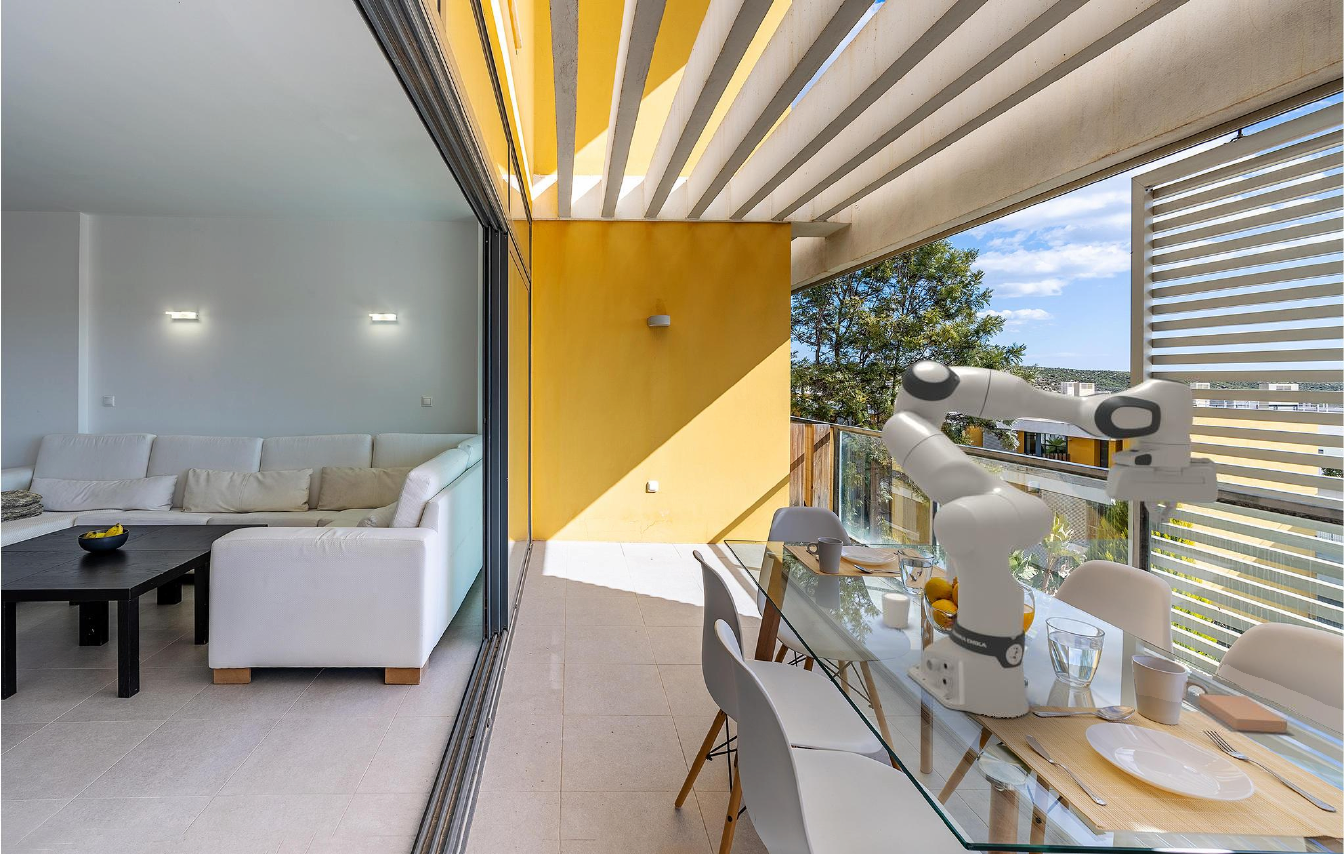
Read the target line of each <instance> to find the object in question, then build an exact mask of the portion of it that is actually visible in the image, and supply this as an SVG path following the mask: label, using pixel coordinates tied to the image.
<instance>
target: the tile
mask: <svg viewBox="0 0 1344 854" xmlns="http://www.w3.org/2000/svg"><path fill="white" fill-rule="evenodd" d="M1206 694H1207V693H1202V694H1199V701H1198V705H1200V706H1201V707H1202V708H1204V709H1205V710H1207V711H1208V712H1210V713H1211V714H1213V715H1214V716H1216V717H1217V718H1219V719H1220V720H1222V721H1223V722H1225V723H1226V724H1228V725H1229V726H1231V727H1232V728H1234V729H1235V730H1242V731H1260V732H1277V733H1287V731H1288V730H1287V729H1288V721H1287V720H1285V719H1284V718H1282V717H1280V716H1279V715H1277V714H1275V713H1274V712H1272V711H1270V709H1268V708H1265V707H1264V706H1262V705H1261V704H1258V703H1257V702H1256V701H1253V699H1251V698H1249V697H1247V696H1241V695H1230V696H1226V695H1227V694H1222V695H1206Z"/></svg>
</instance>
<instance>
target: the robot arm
mask: <svg viewBox="0 0 1344 854" xmlns="http://www.w3.org/2000/svg"><path fill="white" fill-rule="evenodd" d="M892 412H893V413H892V416H891V417H890V418H889V419H887V420H886V422H885V424H883V426H882V431H881V440H882V443H883V444H884V446H885V447H886V450H887V451H888V452H889V454H890V456H891V457H892V459H893V460H894V461H895V462H896V464H897V466H899V467H900V469H901V470H902V471H903V472H904V473H905V475H907V476H908V478H909V479H910V480H911V481H912V482H913V483H914V484H915V485H916V486H917V487H918V488H919V489H920V491H922V493H924V495H925V496H926V497H927V498H928V499H929V500H931V501H933V502H935V503H936V504H940V505H941V506H940V508H939V509H938V510H937V511H936V512H935V515H934V518H933V527H932V528H933V532H934V536H935V538H936V541H937V543H938V544H939V546H940V547H941V548H942V549H943V550H944V551H945V552H946V554H947V553H948V554H949V555H950V557H951V559H952V561H953V564H954V567H955V571H956V575H957V582H958V611H957V614H956V618H955V619H949V620H945V622H946V623H947V624H945V627H950V626H951V628H950V630H949V633H948V635H946V636H944V637H942V638H940V639H938V640H936V641H934V642H932V643H930V644H928V645H926V647H925V648H923V652H922V655H921V661H920V663H918V664H915V665H912V666H911V667H909V668H908V670H907V675H908V676H909V677H910V678H912V679H913V680H914V682H916V683H917V684H919V686H921V687H922V689H924V690H926V691H927V692H928V693H929V694H930V695H931V696H932V697H933V698H935V699H936V700H937V701H938V702H939V703H941V704H942V705H943V706H944V707H945V708H947V709H951V710H956V711H966V712H969V713H974V714H977V715H981V714H984V715H983V716H985V715H987V716H986V717H991V716H993V717H992V718H1001V717H1003V718H1004V717H1007V719H1008V718H1009V717H1011V718H1017V717H1016V716H1018V717H1022V716H1024V715H1025V714H1027V713H1028V712H1029V710H1030V705H1029V700H1028V697H1027V688H1026V685H1025V684H1026V683H1025V674H1024V673H1025V672H1024V661H1023V658H1024V653H1025V648H1026V647H1025V646H1026V636H1025V635H1026V632H1025V630H1024V612H1025V590H1024V587H1023V586H1022V584H1021V583H1020V581H1018V580H1017V579H1015V578H1014V576H1013V572H1012V569H1011V564H1010V553H1012V552H1018V551H1019V552H1020V551H1024V550H1028V549H1030V548H1032V547H1034V546H1036V545H1038V544H1040V543H1041V542H1043V541H1044V540H1046V539H1047V538H1048V537H1049V536H1050V534H1051V532H1052V531H1053V527H1054V517H1053V513H1052V511H1051V509H1050V507H1049V506H1048V504H1047V502H1045V501H1044V500H1043V499H1041V498H1040V497H1038V496H1036V495H1033V494H1030V493H1027V492H1026V491H1023V490H1021V489H1019V488H1017V487H1016V486H1013V485H1012V484H1010V483H1009V482H1007V481H1006V480H1004V479H1002V478H1000V477H999V476H997V475H996V474H995V473H993V472H991V471H989V470H987V469H986V468H985V467H983V466H981V465H980V464H978V463H977V462H976V461H975V460H973V459H972V458H971V457H970V456H969V455H967V453H965V452H964V451H963V450H962V449H961V448H960V447H959V446H958V445H957V444H956V443H954V441H952V440H951V439H950V438H949V437H948V436H947V435H946V434H945V433H944V432H943V431H942V430H941V429H942V427H943V424H944V422H945V419H946V417H947V416H948V414H949V413H952V412H953V413H957V414H962V415H964V416H970V417H974V418H978V419H979V418H980V419H984V420H992V421H993V420H994V421H995V420H996V421H1014V420H1017V419H1021V418H1040V419H1044V420H1050V421H1055V422H1061V423H1066V424H1070V425H1072V426H1075V427H1077V428H1079V429H1080V430H1081V431H1083V432H1084V433H1086V434H1088V435H1090V436H1091V437H1095V438H1096V437H1097V438H1105V439H1109V440H1117V441H1120V440H1121V441H1123V440H1127V439H1133V438H1134V439H1135V438H1138V441H1137V446H1134V447H1131V448H1128V449H1124V450H1120V451H1117V452H1114V453H1112V454H1111V462H1112V463H1113V465H1112V466H1110V468H1109V470H1108V472H1107V477H1106V478H1107V479H1106V487H1105V492H1106V495H1107V496H1108V498H1109V499H1111V500H1115V501H1122V502H1144V507H1145V508H1146V510H1147V512H1148V513H1149V522H1150V523H1153V524H1170V523H1171V516H1172V514H1173V513H1174V512H1175V510H1176V509H1178V503H1194V504H1195V503H1196V504H1200V503H1201V504H1213V503H1214V504H1215V502H1216V501H1217V500H1218V498H1219V484H1218V476H1217V475H1218V474H1217V473H1218V466H1217V464H1216V462H1215V461H1214V460H1212V459H1210V458H1208V457H1191V455H1192V439H1191V435H1190V431H1191V427H1192V425H1193V422H1194V398H1193V392H1192V389H1191V387H1190V385H1188V384H1187V383H1186V382H1183V381H1180V380H1177V379H1176V380H1175V379H1170V378H1161V377H1150V378H1147V379H1146V380H1145V381H1144V382H1141V383H1139V384H1137V385H1136V386H1132V387H1131V388H1127V389H1126V390H1125V389H1124V390H1122V391H1119V392H1116V393H1109V392H1098V393H1097V392H1096V393H1093V394H1087V395H1083V396H1081V395H1080V396H1079V395H1070V394H1065V393H1060V392H1053V391H1047V390H1044V389H1039V388H1037V387H1036V386H1033V385H1031V384H1030V383H1029V382H1028V381H1027V380H1025V379H1024V378H1022V377H1020V376H1017V375H1014V374H1012V373H1008V372H1005V371H1001V370H997V369H991V368H984V367H976V366H962V365H961V366H960V365H959V366H956V365H955V366H954V365H953V366H948V365H946V364H944V363H942V362H940V361H937V360H933V359H923V360H919V361H917V362H914V363H911V364H910V365H909V366H908V367H907V368H906V370H905V372H904V373H903V375H902V378H901V385H900V387H899V390H898V391H897V396H896V398H895V401H894V406H893V411H892ZM1159 503H1162V505H1163V507H1164V506H1165V507H1164V508H1163V510H1162V512H1160V513H1159V512H1158V511H1157V509H1156V508H1158V507H1159ZM1023 714H1024V715H1023ZM1021 715H1022V716H1021ZM994 716H995V717H994Z"/></svg>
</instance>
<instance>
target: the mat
mask: <svg viewBox="0 0 1344 854" xmlns="http://www.w3.org/2000/svg"><path fill="white" fill-rule="evenodd" d="M1185 693H1186V696H1185V698H1184V699H1183V700H1184V701H1185V702H1186V703H1189V704H1190V705H1191V706H1193V707H1194V708H1195V709H1197V710H1199V711H1200V712H1201V713H1203V714H1205V715H1206V716H1207V717H1209V718H1210V719H1212V720H1213V721H1215V722H1216V723H1217V724H1219V725H1221V726H1222V727H1223V728H1225V729H1227V730H1228V731H1230V732H1231V733H1245V734H1246V733H1248V734H1262V735H1263V734H1264V735H1279V736H1280V735H1281V736H1294V734H1293V733H1292V732H1290V731H1288V730H1287V733H1277V732H1260V731H1242V730H1235V729H1234V728H1232V727H1231V726H1229V725H1228V724H1226V723H1225V722H1223V721H1222V720H1220V719H1219V718H1217V717H1216V716H1214V715H1213V714H1211V713H1210V712H1208V711H1207V710H1205V709H1204V708H1202V707H1201V706H1200V705H1198V701H1199V697H1198V696H1195V695H1193V694H1192V693H1193V692H1185ZM1205 694H1206V695H1223V694H1219V693H1205ZM1225 695H1226V696H1231V695H1230V694H1225Z"/></svg>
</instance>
